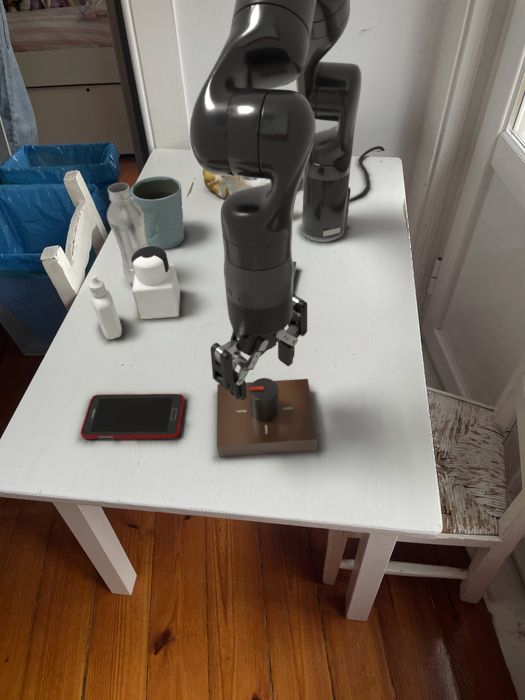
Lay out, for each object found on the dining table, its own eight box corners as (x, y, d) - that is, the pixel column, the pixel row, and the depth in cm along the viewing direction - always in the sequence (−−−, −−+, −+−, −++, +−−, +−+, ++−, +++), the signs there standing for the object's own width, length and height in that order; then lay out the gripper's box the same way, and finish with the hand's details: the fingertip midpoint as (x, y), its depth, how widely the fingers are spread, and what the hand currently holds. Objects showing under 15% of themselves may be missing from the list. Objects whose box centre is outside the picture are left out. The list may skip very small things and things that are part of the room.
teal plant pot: (134, 245, 105) (120, 195, 97) (157, 221, 112) (147, 172, 103) (174, 255, 103) (165, 204, 94) (196, 229, 109) (189, 179, 100)
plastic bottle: (153, 292, 94) (129, 199, 80) (121, 288, 96) (92, 195, 81) (164, 271, 99) (144, 180, 84) (133, 268, 100) (107, 177, 85)
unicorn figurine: (204, 224, 110) (196, 168, 100) (281, 204, 115) (281, 149, 105) (214, 241, 106) (207, 184, 96) (294, 219, 111) (296, 163, 101)
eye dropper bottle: (128, 319, 89) (112, 267, 81) (119, 341, 86) (100, 288, 77) (105, 318, 90) (87, 266, 81) (95, 339, 86) (74, 287, 77)
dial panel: (307, 390, 77) (308, 377, 75) (316, 450, 69) (317, 438, 67) (219, 396, 77) (217, 383, 74) (218, 457, 69) (216, 445, 67)
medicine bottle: (143, 295, 94) (129, 243, 85) (180, 292, 94) (169, 240, 85) (140, 320, 89) (124, 267, 80) (179, 317, 89) (167, 264, 81)
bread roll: (239, 200, 117) (237, 168, 111) (199, 200, 118) (195, 169, 112) (243, 174, 126) (241, 144, 120) (206, 174, 126) (202, 144, 120)
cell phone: (179, 439, 71) (178, 435, 70) (80, 439, 72) (78, 436, 71) (185, 397, 76) (184, 393, 76) (93, 398, 77) (91, 394, 76)
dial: (277, 398, 72) (277, 375, 68) (279, 420, 69) (279, 398, 66) (250, 400, 72) (248, 377, 68) (251, 422, 69) (250, 400, 65)
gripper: (232, 333, 48) (242, 425, 60) (327, 270, 55) (319, 365, 67) (187, 298, 52) (204, 391, 64) (281, 244, 59) (281, 337, 70)
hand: (263, 378), depth 65 cm, fingers open, 8 cm apart
